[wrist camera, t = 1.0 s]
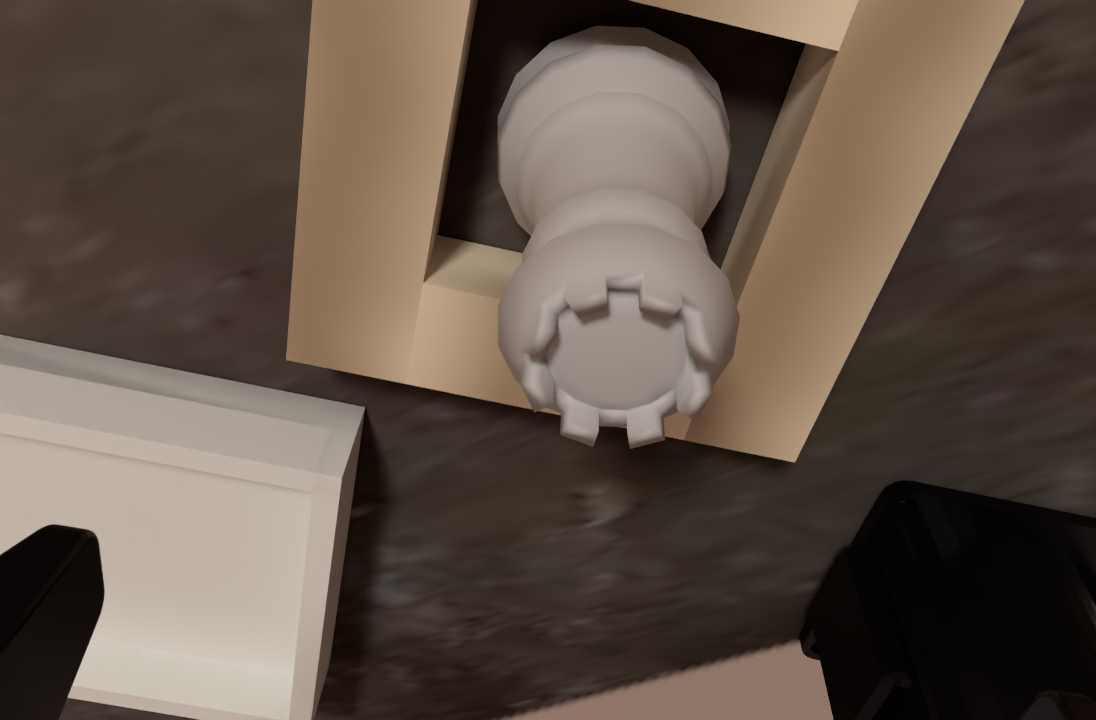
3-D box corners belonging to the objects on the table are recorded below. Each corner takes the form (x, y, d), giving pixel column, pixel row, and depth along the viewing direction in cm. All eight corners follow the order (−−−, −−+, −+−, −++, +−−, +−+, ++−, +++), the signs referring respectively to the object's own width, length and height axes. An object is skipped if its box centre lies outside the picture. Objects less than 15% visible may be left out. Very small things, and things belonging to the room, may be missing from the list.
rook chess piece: (631, 273, 20) (645, 547, 14) (454, 156, 19) (377, 399, 12) (776, 109, 18) (874, 345, 12) (588, -36, 17) (581, 137, 10)
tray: (365, 407, 23) (342, 477, 21) (329, 662, 28) (308, 738, 26) (-157, 303, 22) (-235, 367, 20) (-85, 590, 27) (-140, 662, 25)
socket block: (1013, -98, 16) (1060, -74, 14) (780, 405, 22) (795, 462, 21) (361, -268, 15) (332, -264, 13) (310, 308, 21) (286, 360, 20)
